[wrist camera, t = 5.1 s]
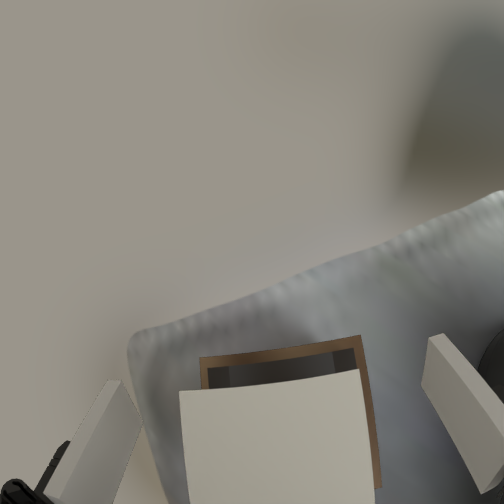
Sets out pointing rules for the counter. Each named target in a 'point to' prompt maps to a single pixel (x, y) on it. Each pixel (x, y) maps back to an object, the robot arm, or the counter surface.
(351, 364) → the wooden planter box
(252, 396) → the plug
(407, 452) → the counter surface
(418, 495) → the counter surface
